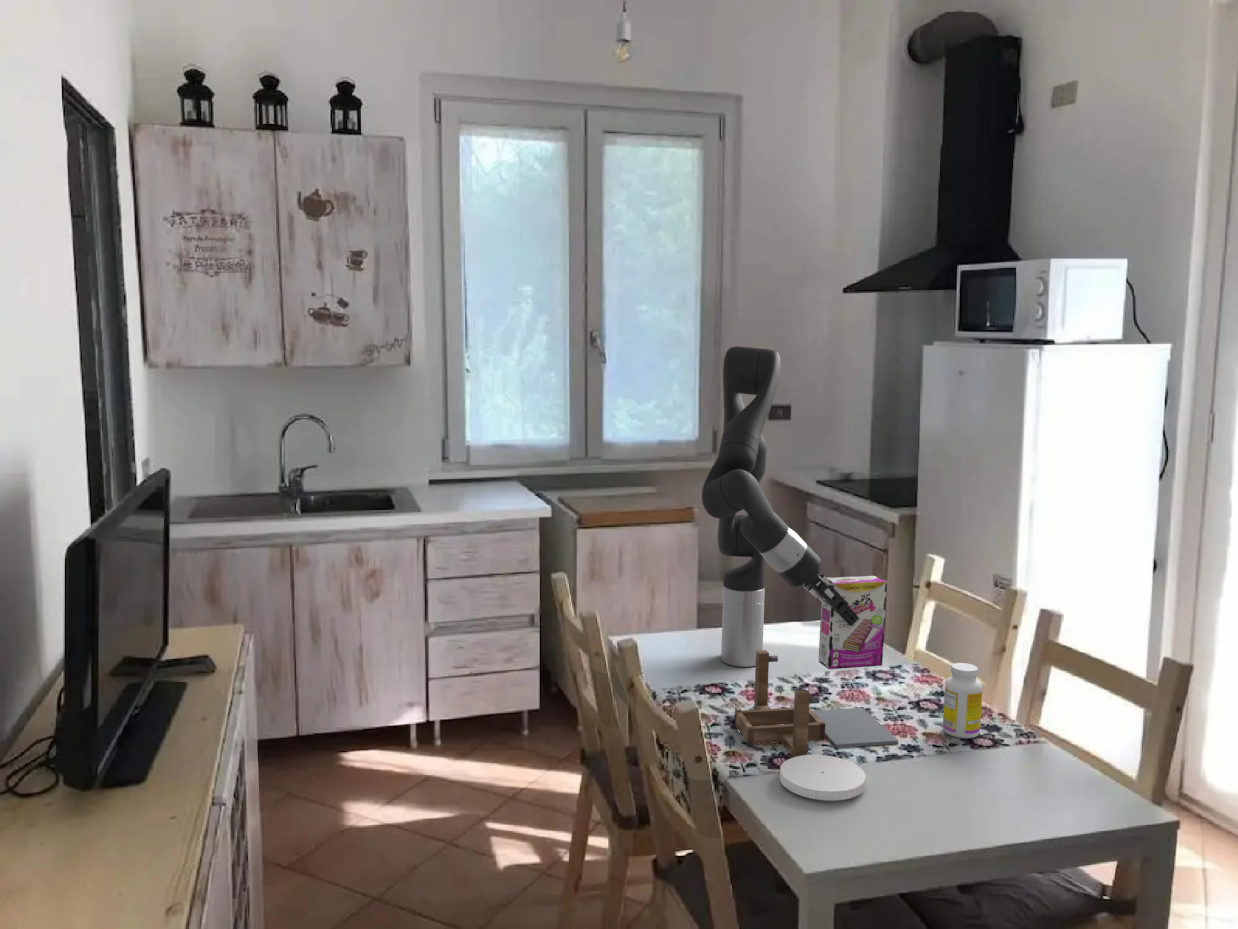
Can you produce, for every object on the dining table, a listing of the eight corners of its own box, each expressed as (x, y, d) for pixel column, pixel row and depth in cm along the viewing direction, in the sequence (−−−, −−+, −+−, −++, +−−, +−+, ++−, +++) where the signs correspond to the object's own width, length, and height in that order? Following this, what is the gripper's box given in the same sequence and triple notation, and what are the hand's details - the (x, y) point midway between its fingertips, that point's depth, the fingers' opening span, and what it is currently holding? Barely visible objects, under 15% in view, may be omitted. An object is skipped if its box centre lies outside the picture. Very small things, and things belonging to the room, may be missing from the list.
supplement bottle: (981, 729, 197) (985, 664, 195) (977, 742, 191) (982, 675, 189) (944, 723, 199) (948, 658, 197) (939, 735, 193) (943, 669, 192)
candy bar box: (829, 671, 190) (832, 583, 188) (817, 662, 195) (820, 577, 193) (884, 666, 193) (888, 580, 191) (871, 658, 198) (874, 574, 196)
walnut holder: (723, 710, 204) (725, 652, 202) (794, 706, 207) (796, 648, 205) (761, 762, 181) (763, 696, 179) (840, 757, 183) (843, 692, 182)
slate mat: (804, 714, 203) (804, 711, 203) (862, 710, 205) (862, 707, 205) (835, 747, 187) (836, 744, 187) (898, 743, 190) (898, 740, 189)
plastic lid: (799, 762, 182) (799, 748, 182) (876, 781, 175) (877, 767, 174) (765, 792, 170) (766, 777, 170) (847, 814, 163) (848, 799, 163)
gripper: (818, 550, 182) (878, 614, 186) (790, 532, 196) (847, 592, 200) (787, 580, 182) (849, 644, 186) (762, 560, 196) (820, 620, 200)
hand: (848, 617), depth 193 cm, fingers closed on candy bar box, 5 cm apart
